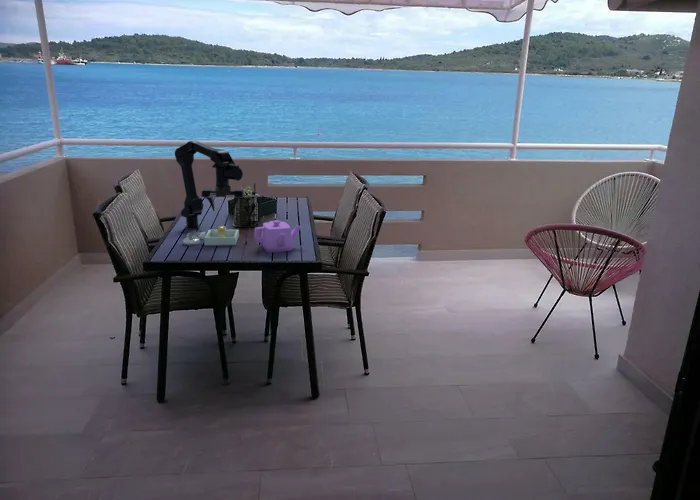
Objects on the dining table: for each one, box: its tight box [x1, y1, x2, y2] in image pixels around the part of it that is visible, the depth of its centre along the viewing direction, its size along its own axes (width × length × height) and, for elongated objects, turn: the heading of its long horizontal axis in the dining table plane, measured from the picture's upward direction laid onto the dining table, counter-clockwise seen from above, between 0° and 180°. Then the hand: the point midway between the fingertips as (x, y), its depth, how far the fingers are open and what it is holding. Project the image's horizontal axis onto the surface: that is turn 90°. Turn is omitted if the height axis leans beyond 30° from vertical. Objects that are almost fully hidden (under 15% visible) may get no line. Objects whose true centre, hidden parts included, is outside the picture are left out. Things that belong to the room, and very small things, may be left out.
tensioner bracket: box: [182, 231, 207, 247], centre depth 229 cm, size 17×8×3 cm, turn 5°
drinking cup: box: [253, 183, 263, 222], centre depth 264 cm, size 8×8×20 cm
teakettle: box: [253, 219, 301, 253], centre depth 221 cm, size 17×17×12 cm
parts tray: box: [203, 229, 240, 246], centre depth 229 cm, size 14×14×4 cm
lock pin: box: [216, 225, 227, 237], centre depth 229 cm, size 4×4×6 cm
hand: (223, 211), depth 235 cm, fingers open, 9 cm apart
